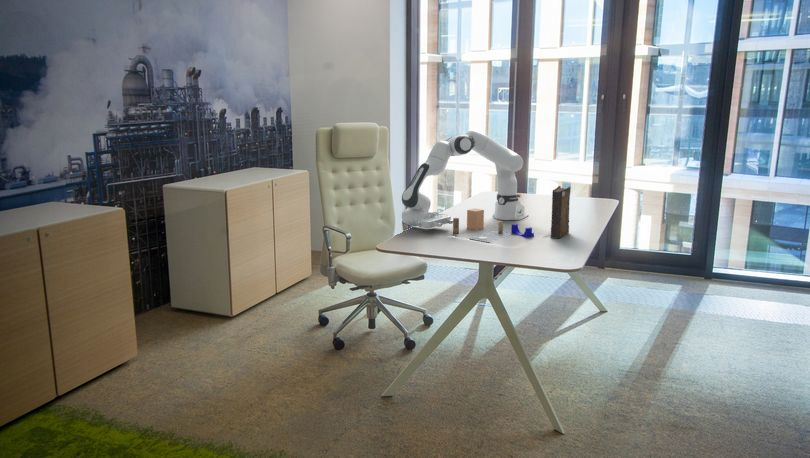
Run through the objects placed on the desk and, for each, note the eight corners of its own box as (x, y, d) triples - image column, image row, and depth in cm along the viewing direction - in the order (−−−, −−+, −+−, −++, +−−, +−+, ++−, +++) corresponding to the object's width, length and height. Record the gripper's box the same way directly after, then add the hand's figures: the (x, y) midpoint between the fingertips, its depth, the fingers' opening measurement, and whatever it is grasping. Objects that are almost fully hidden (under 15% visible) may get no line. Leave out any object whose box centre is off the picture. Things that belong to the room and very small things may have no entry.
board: (494, 232, 341) (494, 219, 340) (513, 235, 333) (513, 222, 332) (469, 239, 325) (469, 226, 324) (488, 243, 318) (489, 229, 316)
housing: (473, 228, 352) (474, 208, 349) (483, 229, 347) (483, 209, 345) (466, 230, 347) (467, 210, 344) (476, 231, 343) (476, 211, 340)
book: (558, 239, 325) (561, 190, 320) (545, 237, 329) (547, 189, 324) (570, 233, 339) (572, 186, 333) (557, 231, 343) (559, 185, 337)
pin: (455, 234, 337) (455, 217, 335) (459, 235, 335) (460, 218, 333) (451, 235, 335) (452, 218, 333) (456, 236, 333) (456, 219, 331)
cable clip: (533, 238, 327) (534, 227, 326) (527, 240, 325) (527, 228, 324) (517, 234, 337) (517, 223, 336) (511, 235, 335) (511, 224, 334)
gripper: (413, 217, 339) (434, 220, 330) (438, 211, 353) (458, 214, 344) (413, 229, 340) (433, 232, 331) (438, 222, 355) (458, 226, 346)
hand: (446, 223), depth 338 cm, fingers open, 8 cm apart
